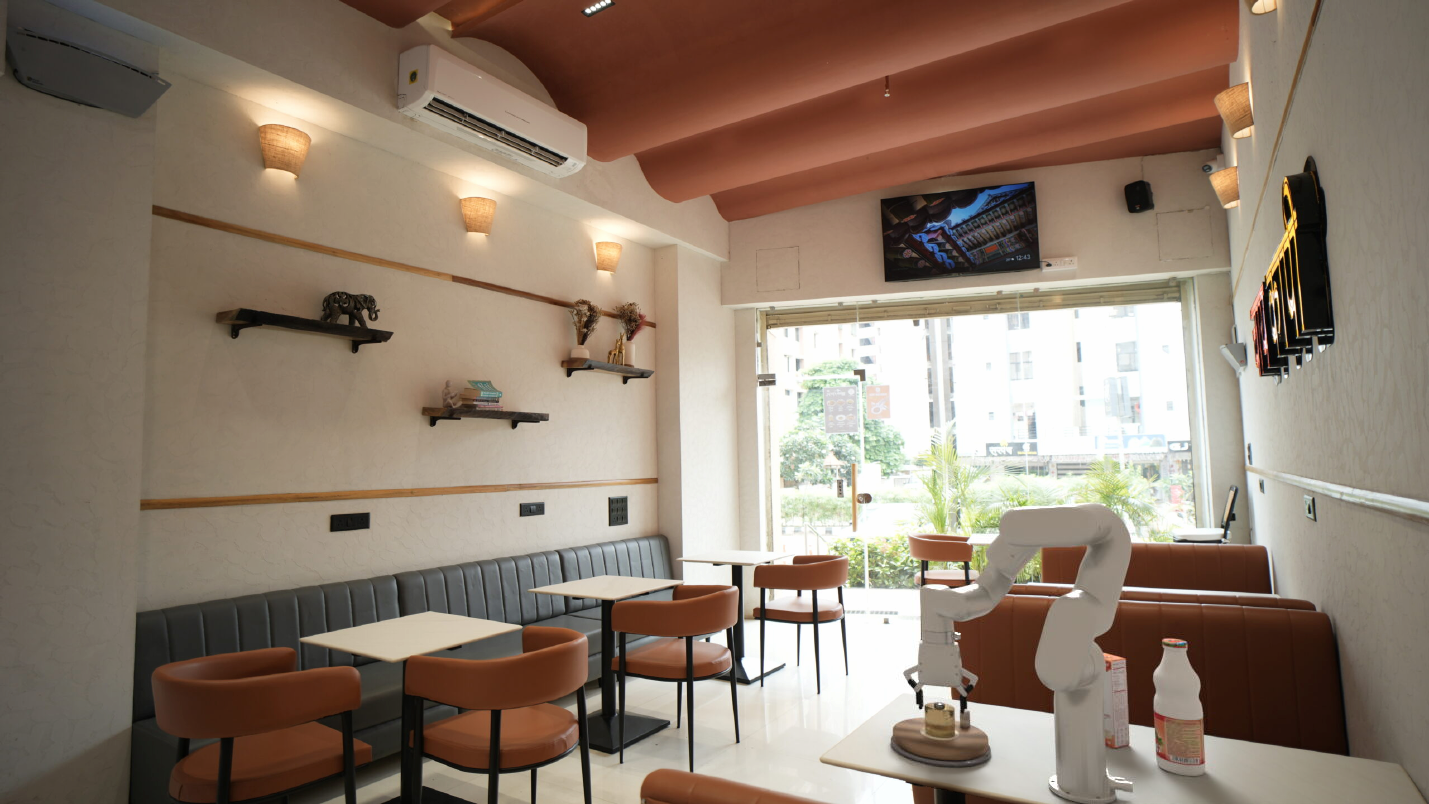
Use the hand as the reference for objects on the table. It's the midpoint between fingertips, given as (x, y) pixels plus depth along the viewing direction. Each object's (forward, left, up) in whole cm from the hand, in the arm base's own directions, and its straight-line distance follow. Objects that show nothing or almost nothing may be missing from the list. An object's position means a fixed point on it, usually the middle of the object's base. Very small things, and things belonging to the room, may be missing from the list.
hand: (941, 709), depth 179 cm
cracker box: (-34, -22, -9) cm, 42 cm away
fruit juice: (-50, -9, -9) cm, 52 cm away
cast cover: (+1, 0, -6) cm, 6 cm away
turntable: (+1, 0, -8) cm, 8 cm away
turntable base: (+1, 0, -9) cm, 9 cm away
